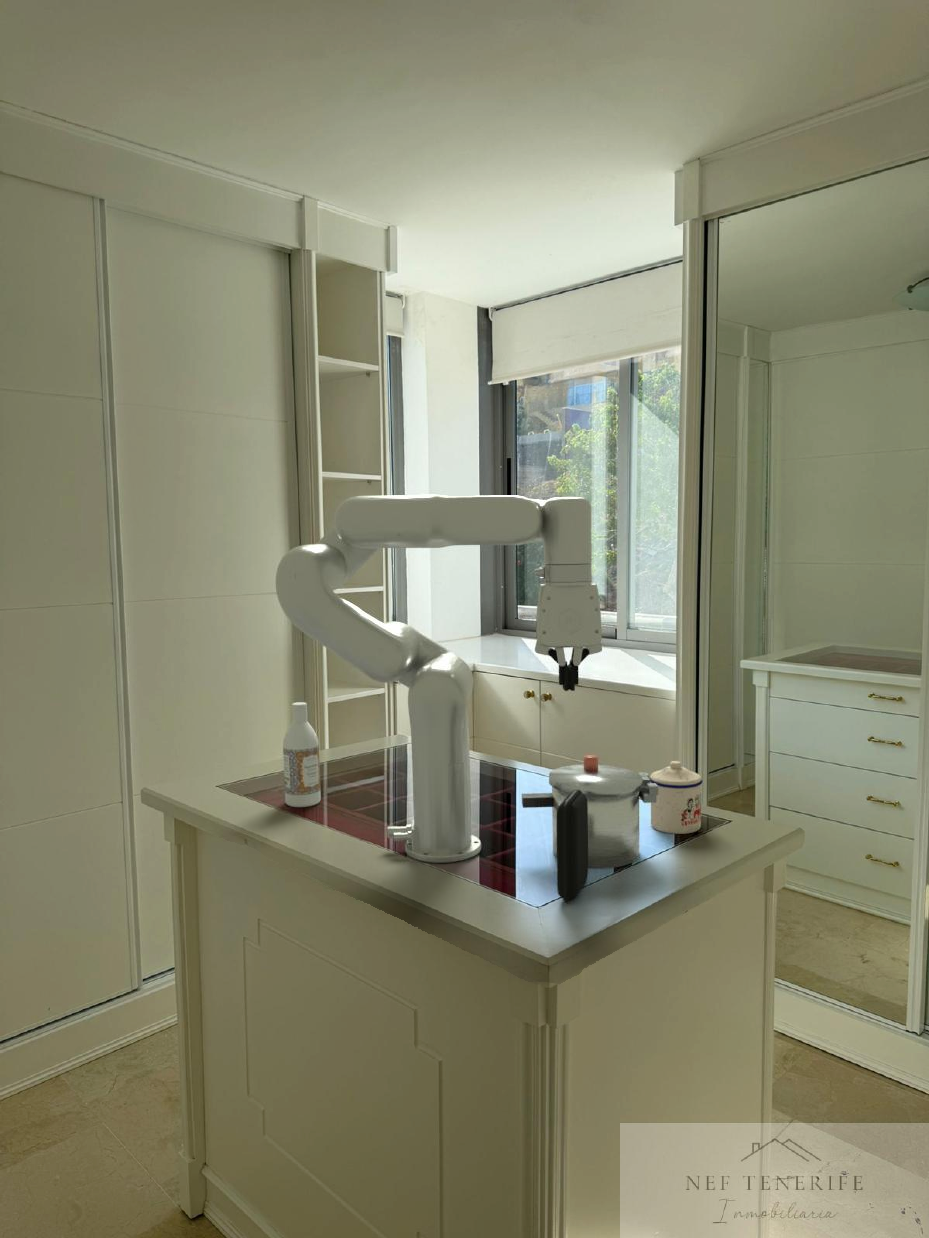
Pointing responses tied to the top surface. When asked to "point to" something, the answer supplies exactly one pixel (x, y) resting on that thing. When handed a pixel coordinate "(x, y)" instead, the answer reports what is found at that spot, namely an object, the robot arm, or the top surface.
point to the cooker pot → (604, 823)
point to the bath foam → (301, 760)
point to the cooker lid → (597, 779)
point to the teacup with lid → (676, 800)
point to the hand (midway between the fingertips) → (568, 689)
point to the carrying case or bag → (572, 845)
